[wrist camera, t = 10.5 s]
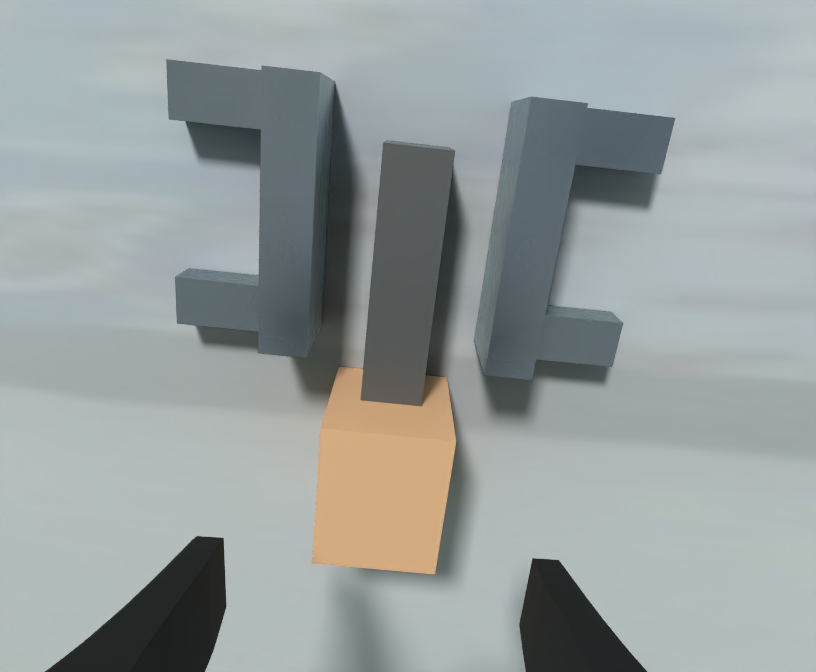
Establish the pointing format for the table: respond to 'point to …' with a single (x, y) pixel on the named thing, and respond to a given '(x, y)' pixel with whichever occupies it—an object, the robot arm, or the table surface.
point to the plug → (392, 389)
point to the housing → (308, 209)
